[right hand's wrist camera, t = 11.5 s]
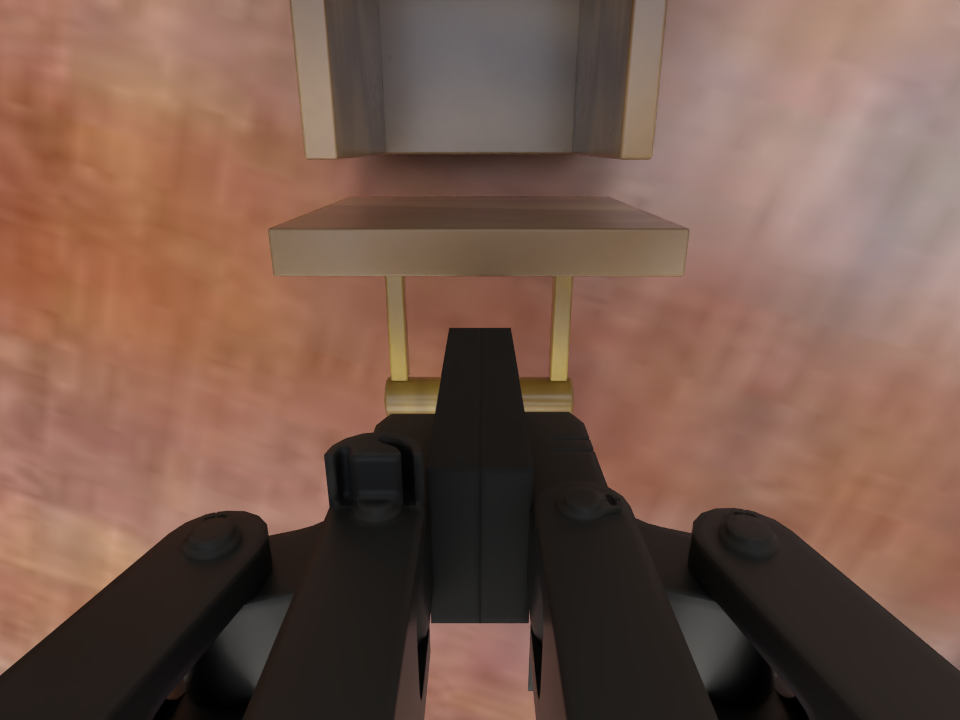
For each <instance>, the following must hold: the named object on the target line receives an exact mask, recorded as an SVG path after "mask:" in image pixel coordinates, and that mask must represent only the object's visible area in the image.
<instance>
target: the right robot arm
mask: <svg viewBox="0 0 960 720" xmlns="http://www.w3.org/2000/svg"><path fill="white" fill-rule="evenodd" d="M324 458H325V468H326V477H327V486H328V496H329V505H330V508H329V510H328V513H327V515H326V517H325V520H324V521H323V522H320V523H318V524H316V525H313V526H310V527H307V528H303V529H299V530H295V531H290V532H285V533H280V534H275V535H271V536H269V535H268V528H267V524H266V523H265V522H264V521H263V520H262V519H261V518H260V517H259V516H257V515H254V514H251V513H248V512H245V511H222V512H218V513H210V514H206V515H204V516H201V517H199V518H196V519H194V520H191V521H189V522H186V523H185V524H183V525H181V526H180V527H178V528H177V529H175V530H174V531H172V532H171V533H169V534H168V535H167V536H166V537H164V538H163V539H162V540H161V541H160V542H158V543H157V544H156V545H155V546H154V547H153V548H151V549H150V550H149V551H148V552H147V553H145V554H144V555H143V556H142V557H141V558H139V559H138V560H137V561H136V562H135V563H134V564H132V565H131V566H130V567H129V568H128V569H126V570H125V571H124V572H123V573H122V574H120V575H119V576H118V577H117V578H116V579H114V580H113V581H112V582H111V583H110V584H109V585H107V586H106V587H105V588H104V589H103V590H101V591H100V592H99V593H98V594H97V595H95V596H94V597H93V598H92V599H91V600H90V601H88V602H87V603H86V604H85V605H84V606H82V607H81V608H80V609H79V610H78V611H76V612H75V613H74V614H73V615H72V616H71V617H69V618H68V619H67V620H66V621H65V622H63V623H62V624H61V625H60V626H59V627H57V628H56V629H55V630H54V631H53V632H52V633H50V634H49V635H48V636H47V637H46V638H44V639H43V640H42V641H41V642H40V643H38V644H37V645H36V646H35V647H34V648H33V649H31V650H30V651H29V652H28V653H27V654H25V655H24V656H23V657H22V658H21V659H19V660H18V661H17V662H16V663H15V664H14V665H12V666H11V667H10V668H9V669H8V670H6V671H5V672H4V673H3V674H2V675H0V720H424V714H425V704H426V693H427V682H428V672H429V661H430V629H429V624H430V614H431V623H529V611H530V621H531V629H530V655H529V681H528V691H533V692H534V703H535V713H536V720H960V671H959V670H958V669H957V668H955V667H954V666H953V665H952V664H951V663H949V662H948V661H947V660H946V659H945V658H943V657H942V656H941V655H940V654H939V653H937V652H936V651H935V650H934V649H933V648H931V647H930V646H929V645H928V644H927V643H925V642H924V641H923V640H922V639H921V638H920V637H918V636H917V635H916V634H915V633H914V632H912V631H911V630H910V629H909V628H908V627H906V626H905V625H904V624H903V623H902V622H900V621H899V620H898V619H897V618H896V617H894V616H893V615H892V614H891V613H890V612H888V611H887V610H886V609H885V608H884V607H882V606H881V605H880V604H879V603H878V602H876V601H875V600H874V599H873V598H872V597H870V596H869V595H868V594H867V593H866V592H864V591H863V590H862V589H861V588H860V587H858V586H857V585H856V584H855V583H854V582H852V581H851V580H850V579H849V578H848V577H846V576H845V575H844V574H843V573H842V572H840V571H839V570H838V569H837V568H836V567H834V566H833V565H832V564H831V563H830V562H828V561H827V560H826V559H825V558H824V557H822V556H821V555H820V554H819V553H818V552H816V551H815V550H814V549H813V548H812V547H810V546H809V545H808V544H807V543H806V542H804V541H803V540H802V539H801V538H800V537H798V536H797V535H796V534H795V533H794V532H792V531H791V530H790V529H788V528H787V527H785V526H783V525H782V524H780V523H779V522H777V521H776V520H774V519H771V518H769V517H766V516H764V515H761V514H758V513H756V512H753V511H749V510H743V509H736V508H719V509H713V510H710V511H707V512H704V513H701V514H700V515H699V516H698V517H697V519H696V520H695V521H694V522H693V528H692V533H688V532H683V531H678V530H673V529H668V528H663V527H659V526H655V525H652V524H648V523H646V522H643V521H641V520H639V519H636V518H635V516H634V514H633V512H632V509H631V507H630V505H629V504H628V503H627V501H626V500H625V499H624V497H623V496H622V495H620V494H618V493H617V492H615V491H614V490H612V489H610V488H608V486H607V484H606V481H605V478H604V476H603V473H602V470H601V468H600V465H599V462H598V460H597V457H596V454H595V452H593V446H592V444H591V441H590V440H589V436H588V433H587V430H586V428H585V425H584V423H583V422H581V421H580V420H579V419H578V418H576V417H575V416H574V415H573V414H571V413H570V412H525V410H524V404H523V398H522V392H521V386H520V380H519V374H518V369H517V363H516V357H515V351H514V345H513V339H512V333H511V328H449V333H448V339H447V345H446V351H445V357H444V363H443V369H442V374H441V380H440V386H439V392H438V398H437V404H436V410H435V414H390V415H389V416H388V417H386V418H385V419H384V420H382V421H381V422H380V423H379V424H377V425H376V427H375V430H374V433H364V434H360V435H356V436H353V437H349V438H346V439H344V440H342V441H340V442H338V443H336V444H335V445H333V446H332V447H331V448H330V449H329V450H328V451H327V452H326V453H325V454H324Z"/></svg>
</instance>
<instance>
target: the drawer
mask: <svg viewBox="0 0 960 720" xmlns="http://www.w3.org/2000/svg"><path fill="white" fill-rule="evenodd" d="M667 3H668V0H290V10H291V20H292V31H293V41H294V51H295V61H296V71H297V81H298V91H299V101H300V112H301V122H302V132H303V142H304V152H305V158H306V159H344V158H355V157H365V156H375V155H583V156H593V157H603V158H613V159H651V158H652V156H653V146H654V135H655V125H656V115H657V105H658V95H659V85H660V74H661V64H662V54H663V44H664V34H665V24H666V13H667ZM268 234H269V242H270V250H271V258H272V266H273V274H274V276H385V282H386V300H387V317H388V335H389V352H390V370H391V377H389V378H388V379H387V381H386V385H385V410H386V414H387V416H389V415H390V414H435V410H436V404H437V398H438V392H439V386H440V380H441V377H409V351H408V329H407V307H406V285H405V276H553V287H552V309H551V331H550V353H549V377H519V380H520V386H521V392H522V398H523V404H524V410H525V412H570V413H571V414H572V411H573V385H572V381H571V378H569V377H567V372H568V355H569V337H570V320H571V302H572V285H573V276H683V275H684V271H685V263H686V255H687V247H688V239H689V229H688V228H685V227H683V226H680V225H678V224H675V223H673V222H670V221H668V220H665V219H663V218H660V217H658V216H655V215H653V214H650V213H648V212H645V211H643V210H640V209H638V208H635V207H633V206H630V205H628V204H625V203H623V202H620V201H618V200H615V199H613V198H610V197H348V198H345V199H343V200H340V201H338V202H335V203H333V204H330V205H328V206H325V207H322V208H320V209H317V210H315V211H312V212H310V213H307V214H305V215H302V216H300V217H297V218H295V219H292V220H290V221H287V222H284V223H282V224H279V225H277V226H274V227H272V228H269V229H268Z"/></svg>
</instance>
